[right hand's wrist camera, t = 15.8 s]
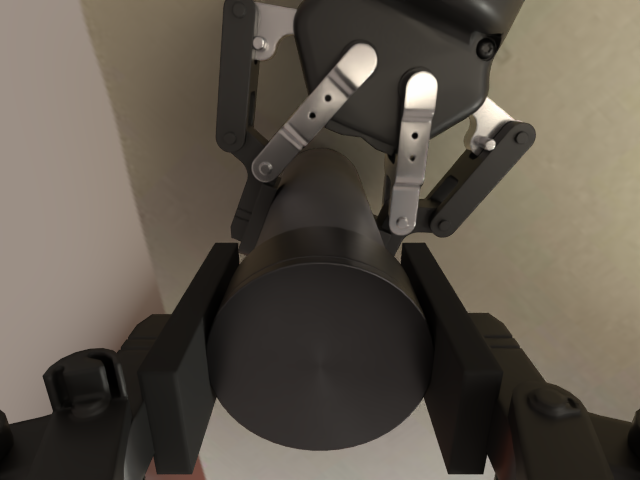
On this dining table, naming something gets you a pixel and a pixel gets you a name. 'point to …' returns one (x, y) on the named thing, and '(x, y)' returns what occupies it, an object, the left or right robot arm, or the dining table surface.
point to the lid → (320, 341)
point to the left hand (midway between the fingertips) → (300, 267)
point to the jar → (320, 197)
